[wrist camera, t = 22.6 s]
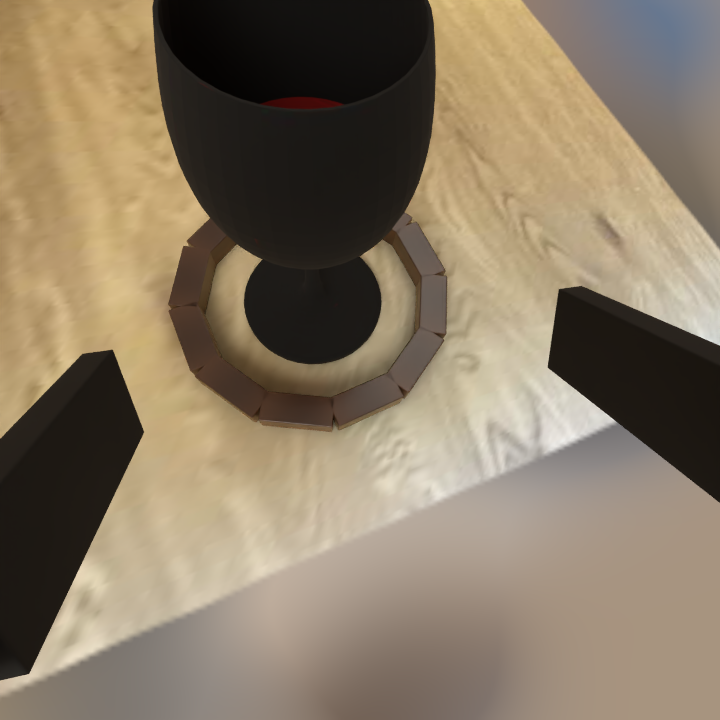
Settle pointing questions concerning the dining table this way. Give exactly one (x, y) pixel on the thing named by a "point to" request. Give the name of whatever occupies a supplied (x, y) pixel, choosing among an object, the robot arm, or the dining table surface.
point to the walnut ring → (297, 408)
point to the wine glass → (301, 147)
